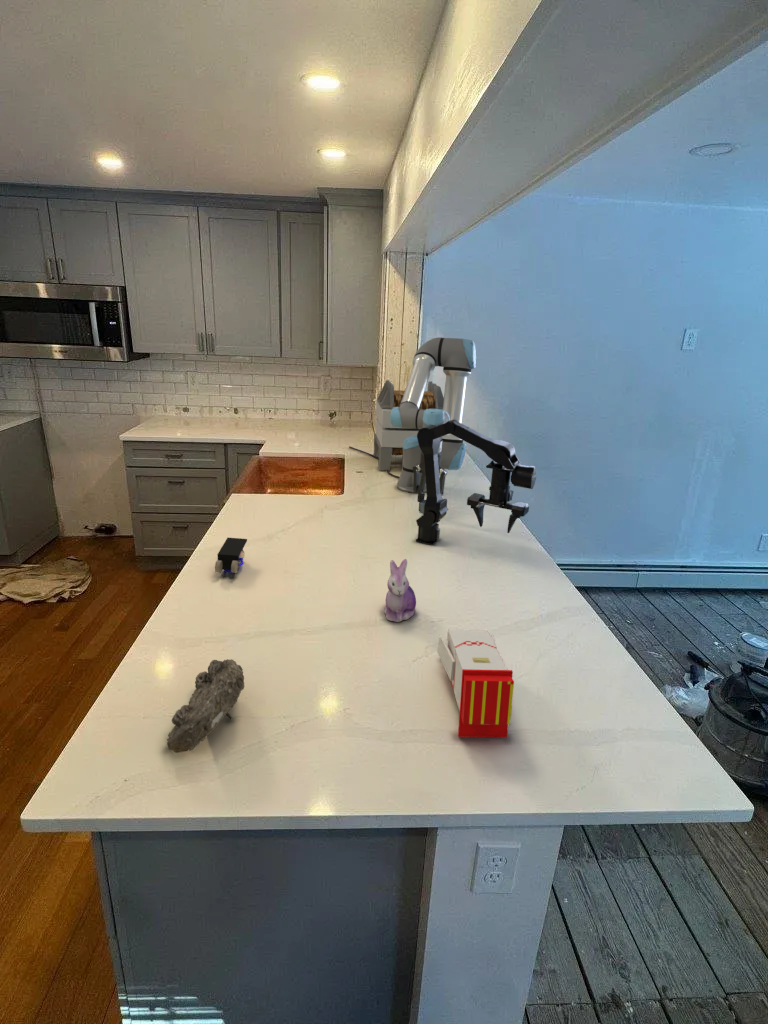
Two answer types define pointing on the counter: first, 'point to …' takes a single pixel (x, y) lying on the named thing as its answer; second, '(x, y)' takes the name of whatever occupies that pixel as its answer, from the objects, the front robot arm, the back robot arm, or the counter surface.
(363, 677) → the counter surface
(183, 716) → the fossil
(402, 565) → the figurine
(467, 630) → the toy
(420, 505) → the block
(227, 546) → the figurine character
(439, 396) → the transformer
